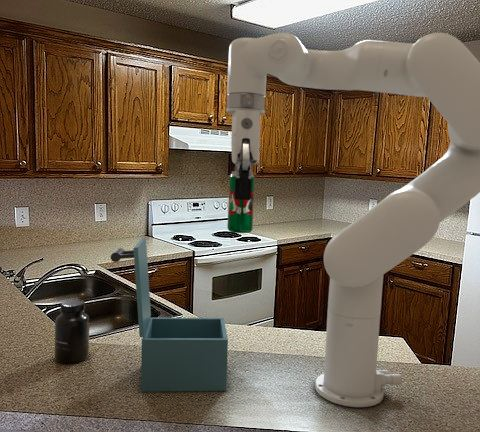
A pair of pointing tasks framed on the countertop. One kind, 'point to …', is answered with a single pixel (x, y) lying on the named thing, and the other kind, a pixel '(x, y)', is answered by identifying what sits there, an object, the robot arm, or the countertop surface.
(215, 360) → the teal box
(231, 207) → the soda can
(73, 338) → the supplement bottle
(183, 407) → the countertop surface
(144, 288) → the teal box lid
